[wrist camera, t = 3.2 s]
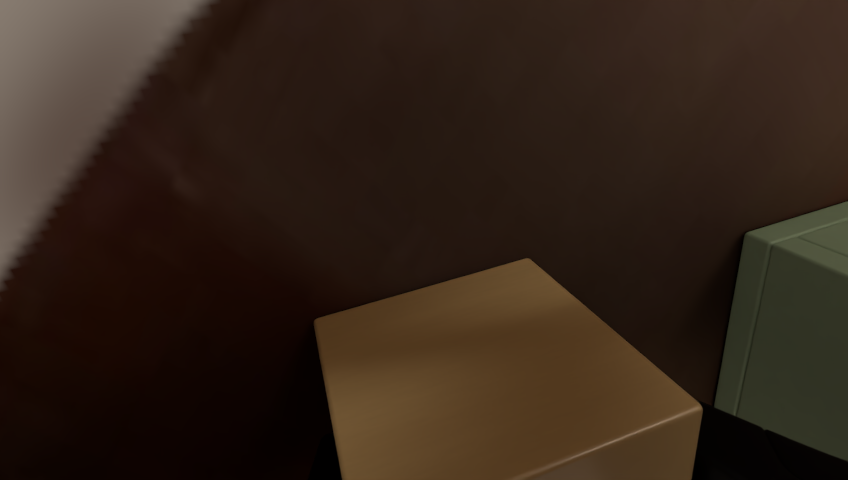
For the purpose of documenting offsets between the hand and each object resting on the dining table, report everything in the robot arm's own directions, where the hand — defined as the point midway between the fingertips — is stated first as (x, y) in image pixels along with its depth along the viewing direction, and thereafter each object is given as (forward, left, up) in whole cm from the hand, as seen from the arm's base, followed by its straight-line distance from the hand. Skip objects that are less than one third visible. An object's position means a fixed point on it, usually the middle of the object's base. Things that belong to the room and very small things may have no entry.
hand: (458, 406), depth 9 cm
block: (0, 0, -1) cm, 1 cm away
